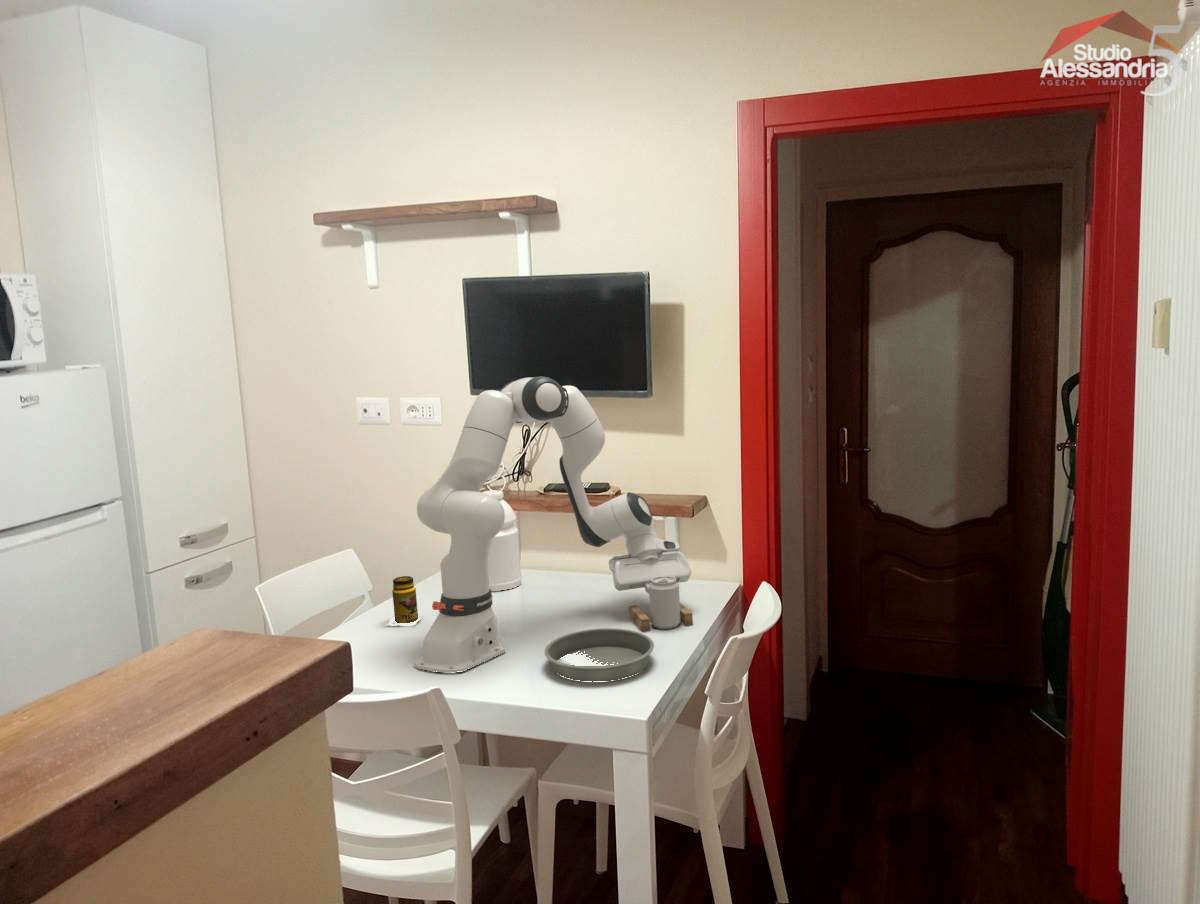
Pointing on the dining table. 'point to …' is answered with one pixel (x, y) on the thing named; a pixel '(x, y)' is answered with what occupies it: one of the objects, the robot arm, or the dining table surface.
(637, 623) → the parallel wooden bars
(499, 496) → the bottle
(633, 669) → the cake pan
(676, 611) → the can
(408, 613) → the condiment
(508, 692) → the dining table surface
